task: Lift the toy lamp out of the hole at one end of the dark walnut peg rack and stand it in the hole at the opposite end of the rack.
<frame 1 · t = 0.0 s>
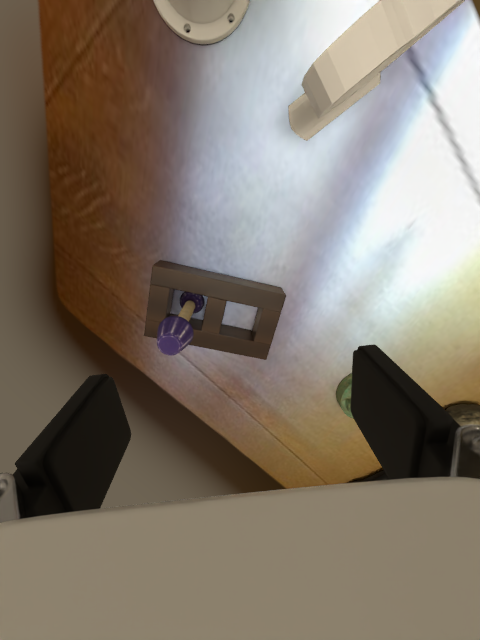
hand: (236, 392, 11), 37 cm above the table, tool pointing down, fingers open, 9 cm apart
decorative artifact: (360, 390, 57), on the table
heart sculpture: (333, 95, 38), on the table
rack: (215, 306, 49), on the table
toy lamp: (190, 301, 48), resting in rack
electric trimmer: (363, 479, 66), on the table
stone: (454, 425, 61), on the table
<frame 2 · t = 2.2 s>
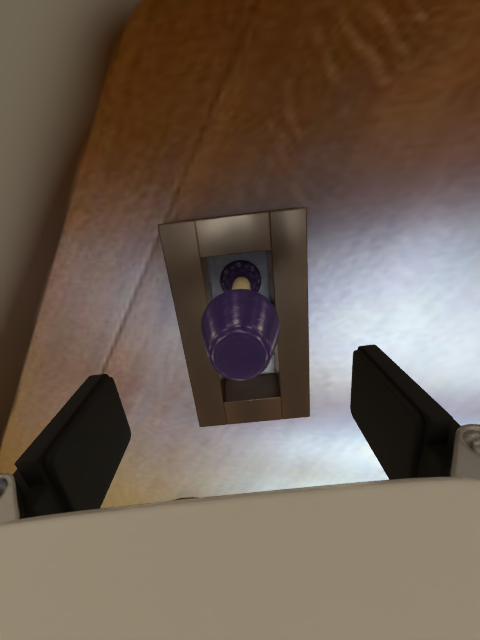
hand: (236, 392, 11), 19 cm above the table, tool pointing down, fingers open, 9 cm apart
rack: (243, 317, 30), on the table
toy lamp: (239, 276, 29), resting in rack
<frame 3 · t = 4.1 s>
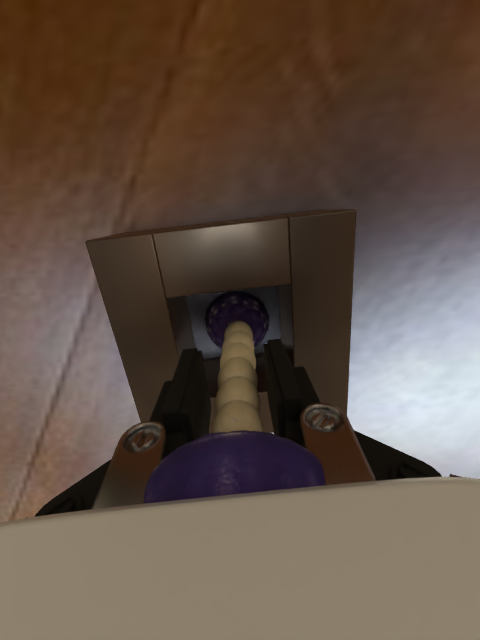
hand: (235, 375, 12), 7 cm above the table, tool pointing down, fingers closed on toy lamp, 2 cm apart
rack: (241, 372, 20), on the table
toy lamp: (234, 315, 19), resting in rack, touching gripper
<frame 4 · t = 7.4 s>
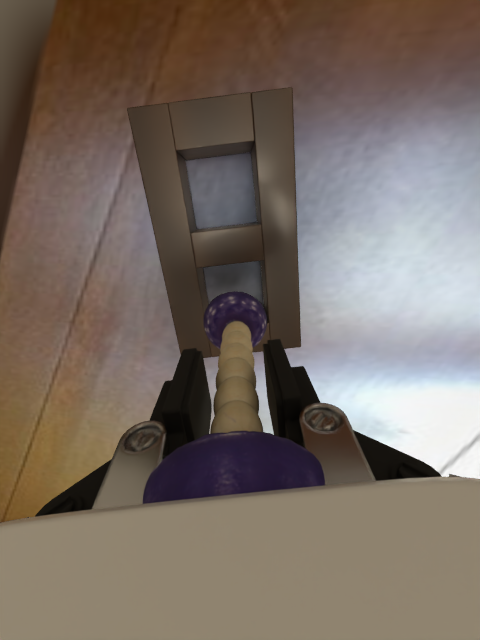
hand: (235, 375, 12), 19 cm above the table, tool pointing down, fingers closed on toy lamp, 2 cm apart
rack: (228, 241, 28), on the table
toy lamp: (232, 315, 19), point 11 cm above the table, touching gripper
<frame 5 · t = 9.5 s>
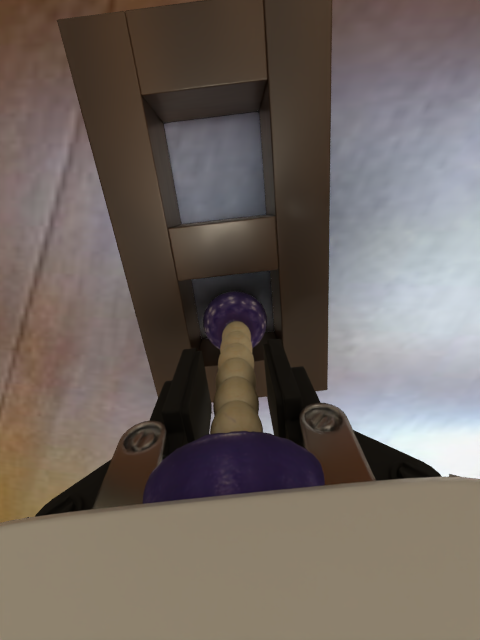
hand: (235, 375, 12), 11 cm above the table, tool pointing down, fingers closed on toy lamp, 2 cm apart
rack: (226, 241, 20), on the table
toy lamp: (232, 315, 19), point 3 cm above the table, touching gripper
when the fingers open (7 cm above the table, at t = 10.8 s): toy lamp stays where it is, resting in rack.
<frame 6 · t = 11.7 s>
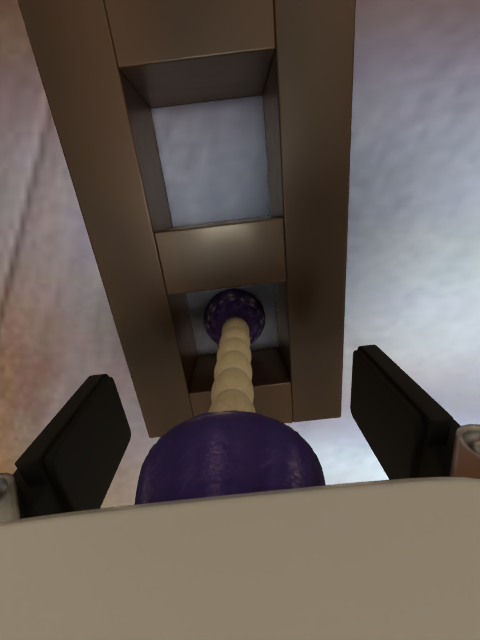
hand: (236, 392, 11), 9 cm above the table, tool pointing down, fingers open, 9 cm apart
rack: (224, 246, 17), on the table
toy lamp: (232, 312, 19), resting in rack
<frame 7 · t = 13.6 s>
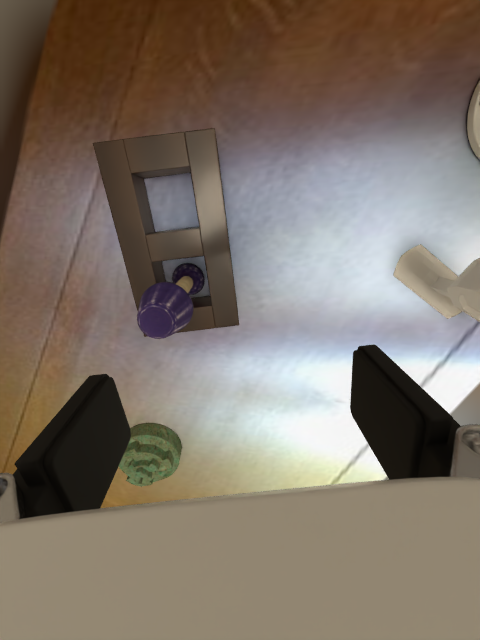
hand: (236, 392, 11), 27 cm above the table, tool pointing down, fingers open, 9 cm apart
decorative artifact: (152, 445, 47), on the table
heart sculpture: (433, 283, 39), on the table
rack: (181, 241, 35), on the table
toy lamp: (187, 276, 37), resting in rack
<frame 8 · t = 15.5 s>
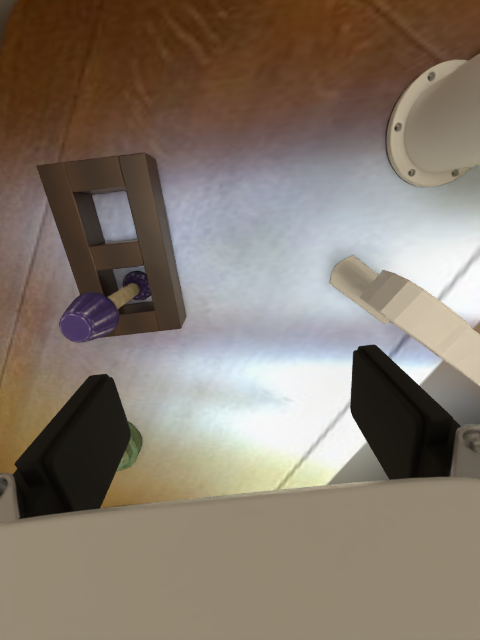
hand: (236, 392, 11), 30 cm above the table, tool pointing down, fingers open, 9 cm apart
decorative artifact: (114, 438, 50), on the table
heart sculpture: (368, 290, 41), on the table
rack: (129, 251, 38), on the table
toy lamp: (137, 282, 40), resting in rack
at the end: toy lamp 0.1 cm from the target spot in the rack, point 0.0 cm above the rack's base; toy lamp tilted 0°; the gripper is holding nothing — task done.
